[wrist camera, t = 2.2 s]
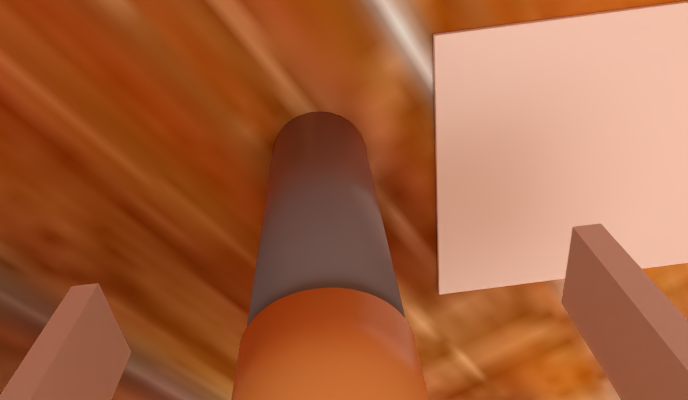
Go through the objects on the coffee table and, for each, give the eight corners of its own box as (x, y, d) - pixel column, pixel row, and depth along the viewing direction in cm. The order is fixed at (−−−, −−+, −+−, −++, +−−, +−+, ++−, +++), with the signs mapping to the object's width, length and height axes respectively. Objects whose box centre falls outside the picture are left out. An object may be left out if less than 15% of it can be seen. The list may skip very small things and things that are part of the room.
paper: (438, 290, 26) (439, 294, 25) (432, 33, 19) (434, 35, 19) (784, 246, 26) (789, 249, 25) (902, -28, 19) (910, -27, 19)
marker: (279, 203, 22) (246, 547, 10) (261, 116, 20) (192, 424, 8) (372, 191, 22) (445, 522, 10) (363, 103, 20) (442, 392, 8)
